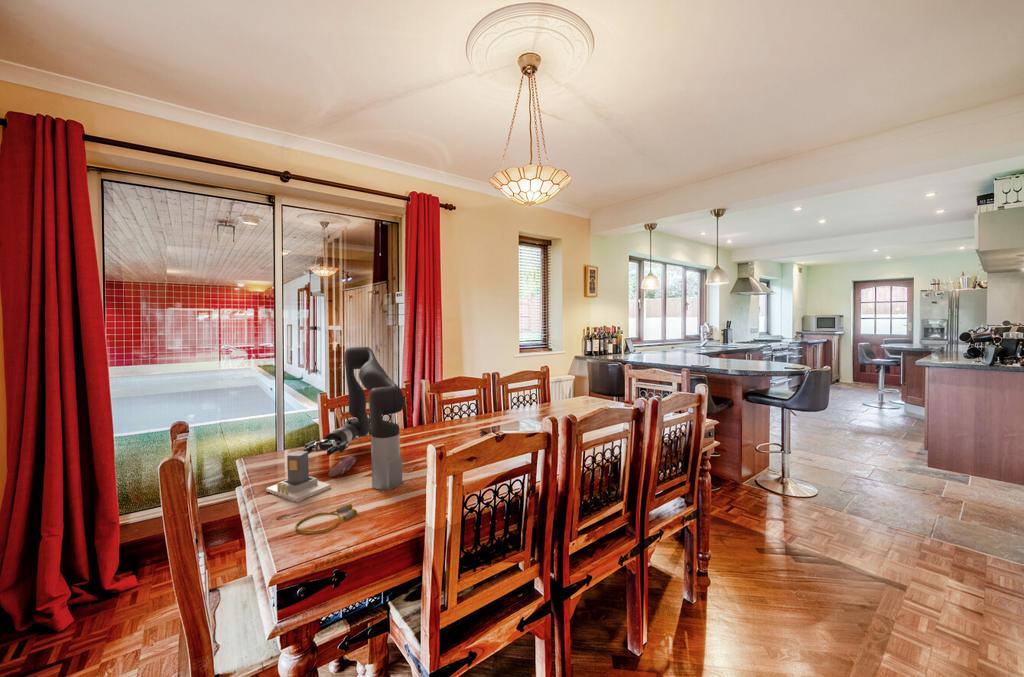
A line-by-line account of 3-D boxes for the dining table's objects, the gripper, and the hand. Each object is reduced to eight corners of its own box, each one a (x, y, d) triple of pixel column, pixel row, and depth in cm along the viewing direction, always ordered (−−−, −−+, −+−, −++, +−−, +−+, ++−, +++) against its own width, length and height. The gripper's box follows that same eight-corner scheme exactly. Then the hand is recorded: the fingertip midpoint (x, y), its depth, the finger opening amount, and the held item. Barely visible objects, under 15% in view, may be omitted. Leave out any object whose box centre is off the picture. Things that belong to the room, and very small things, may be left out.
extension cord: (359, 526, 112) (359, 519, 111) (294, 540, 105) (293, 532, 105) (355, 507, 123) (355, 501, 122) (296, 519, 116) (296, 512, 116)
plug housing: (309, 483, 136) (308, 451, 136) (300, 490, 131) (299, 456, 131) (296, 483, 137) (295, 451, 136) (287, 489, 132) (286, 456, 131)
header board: (330, 487, 136) (330, 477, 136) (296, 502, 125) (296, 490, 125) (300, 478, 143) (300, 468, 143) (266, 491, 133) (265, 480, 133)
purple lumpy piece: (337, 482, 144) (344, 465, 143) (326, 475, 145) (334, 459, 144) (352, 471, 154) (360, 456, 153) (343, 465, 155) (350, 450, 154)
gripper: (320, 429, 161) (296, 441, 145) (355, 429, 160) (335, 442, 144) (321, 448, 162) (297, 462, 146) (356, 448, 161) (336, 463, 145)
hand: (316, 452), depth 145 cm, fingers open, 8 cm apart
